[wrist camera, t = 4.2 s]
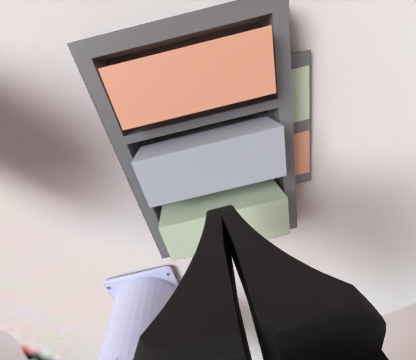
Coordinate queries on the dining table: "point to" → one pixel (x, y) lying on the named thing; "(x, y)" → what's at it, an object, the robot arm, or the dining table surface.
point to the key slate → (211, 161)
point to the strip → (301, 113)
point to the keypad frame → (127, 139)
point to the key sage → (238, 197)
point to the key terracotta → (192, 78)
